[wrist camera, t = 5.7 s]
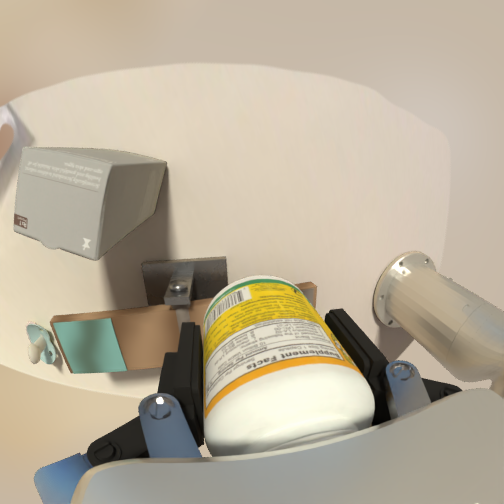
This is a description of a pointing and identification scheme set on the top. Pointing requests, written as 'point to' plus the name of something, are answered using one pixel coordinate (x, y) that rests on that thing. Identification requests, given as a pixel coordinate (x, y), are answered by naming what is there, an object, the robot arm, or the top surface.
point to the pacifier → (39, 344)
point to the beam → (130, 334)
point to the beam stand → (184, 280)
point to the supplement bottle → (275, 372)
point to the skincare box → (84, 197)
